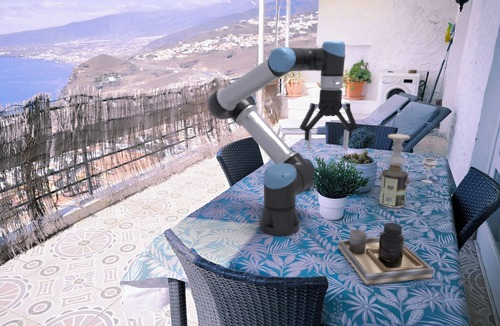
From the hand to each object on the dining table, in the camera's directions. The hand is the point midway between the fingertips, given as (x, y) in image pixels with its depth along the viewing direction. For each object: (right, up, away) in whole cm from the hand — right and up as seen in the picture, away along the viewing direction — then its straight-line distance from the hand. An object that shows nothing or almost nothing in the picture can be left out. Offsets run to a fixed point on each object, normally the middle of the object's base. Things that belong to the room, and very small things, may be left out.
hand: (327, 148), depth 121 cm
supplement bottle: (+14, -35, -20) cm, 43 cm away
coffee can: (+34, -23, +25) cm, 48 cm away
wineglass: (+63, -15, +51) cm, 83 cm away
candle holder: (+47, -15, +53) cm, 72 cm away
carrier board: (+13, -36, -18) cm, 42 cm away
